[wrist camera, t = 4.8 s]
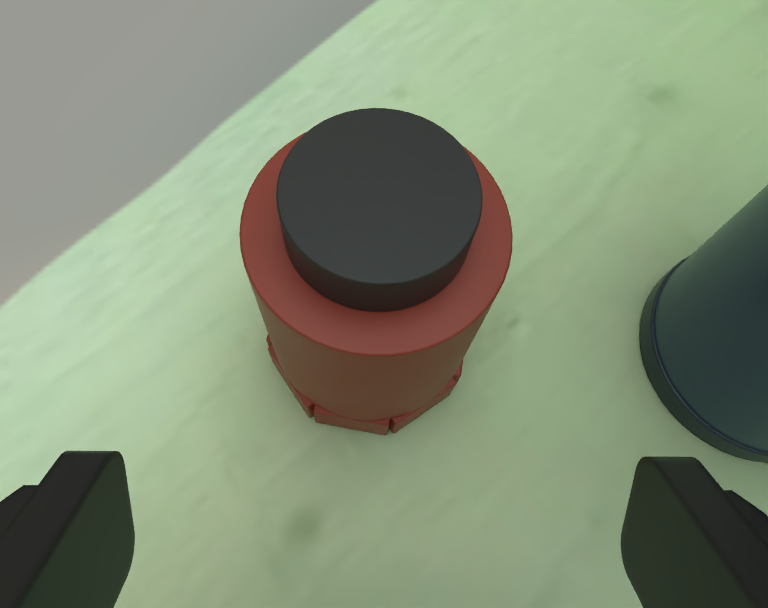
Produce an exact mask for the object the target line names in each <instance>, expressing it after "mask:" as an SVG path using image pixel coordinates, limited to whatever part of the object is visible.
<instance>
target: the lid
mask: <svg viewBox="0 0 768 608" xmlns="http://www.w3.org/2000/svg"><path fill="white" fill-rule="evenodd" d="M240 247H241V253H242V258H243V262H244V266H245V269H246V272H247V275H248V278H249V281H250V283H251V286H252V289H253V292H254V295H255V297H256V300H257V303H258V306H259V309H260V312H261V314H262V317H263V320H264V323H265V326H266V328H267V331H268V336H267V343H268V346H269V347H268V351H269V353H270V356H271V358H272V361H273V363H274V365H275V366H276V368H277V369H278V371H279V372H280V374H281V375H282V377H283V378H284V380H285V381H286V383H287V384H288V386H289V388H290V389H291V391H292V392H293V394H294V395H295V397H296V398H297V400H298V401H299V403H300V404H301V406H302V407H303V409H304V410H305V412H306V413H307V415H308V417H312V416H315V420H316V422H318V423H323V424H328V425H334V426H339V427H344V428H350V429H355V430H360V431H366V432H371V433H376V434H382V435H386V434H387V431H388V428H390V430H391V431H392V433H396V432H397V431H398V430H400V429H401V428H403V427H404V426H406V425H407V424H409V423H410V422H411V421H413V420H414V419H416V418H417V417H419V416H420V415H421V414H423V413H424V412H426V411H427V410H429V409H430V408H432V407H433V406H434V405H436V404H437V403H439V402H440V401H442V400H443V399H445V398H446V397H447V396H449V395H450V393H451V392H452V390H453V388H454V387H455V385H456V383H457V381H458V380H459V378H460V376H461V371H462V364H463V357H464V355H465V354H466V352H467V350H468V348H469V346H470V344H471V342H472V341H473V339H474V337H475V335H476V333H477V331H478V329H479V328H480V326H481V324H482V322H483V320H484V318H485V316H486V314H487V313H488V311H489V309H490V307H491V305H492V303H493V301H494V300H495V298H496V296H497V294H498V292H499V290H500V288H501V286H502V284H503V283H504V280H505V277H506V274H507V271H508V268H509V264H510V259H511V254H512V227H511V219H510V216H509V212H508V208H507V204H506V202H505V200H504V197H503V195H502V193H501V190H500V188H499V187H498V185H497V183H496V182H495V180H494V178H493V177H492V175H491V174H490V173H489V171H488V170H487V169H486V167H485V166H484V165H483V164H482V163H481V162H480V161H479V160H478V159H477V158H476V157H475V156H474V155H473V154H472V153H471V152H470V151H469V150H467V149H466V148H465V147H463V146H462V145H461V144H460V143H459V142H458V141H457V140H456V139H455V138H454V137H453V136H452V135H451V134H449V133H448V132H447V131H446V130H444V129H443V128H441V127H440V126H438V125H437V124H435V123H433V122H431V121H429V120H427V119H425V118H423V117H420V116H418V115H415V114H412V113H408V112H404V111H400V110H394V109H385V108H369V109H359V110H354V111H349V112H345V113H342V114H339V115H336V116H333V117H331V118H329V119H327V120H324V121H323V122H321V123H319V124H318V125H316V126H314V127H313V128H312V129H310V130H309V131H308V132H306V133H304V134H302V135H301V136H299V137H297V138H295V139H294V140H292V141H291V142H289V143H288V144H287V145H285V146H284V147H283V148H282V149H280V150H279V151H278V152H277V153H276V154H275V155H274V156H273V157H272V158H271V159H270V160H269V161H268V162H267V163H266V165H265V166H264V167H263V169H262V170H261V171H260V172H259V174H258V175H257V177H256V179H255V181H254V182H253V184H252V186H251V188H250V190H249V192H248V195H247V198H246V200H245V203H244V207H243V211H242V215H241V222H240Z"/></svg>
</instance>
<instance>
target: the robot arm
mask: <svg viewBox="0 0 768 608" xmlns="http://www.w3.org/2000/svg"><path fill="white" fill-rule="evenodd" d="M134 542H135V533H134V525H133V518H132V511H131V504H130V498H129V491H128V484H127V477H126V471H125V464H124V460H123V457H122V455H121V454H120V452H118V451H66V452H64V453H62V454H61V455H60V456H59V458H58V459H57V460H56V462H55V463H54V464H53V466H52V467H51V468H50V470H49V471H48V473H47V474H46V475H45V477H44V478H43V479H42V481H41V482H40V483H39V485H23V486H22V487H21V488H19V489H18V490H16V491H15V492H13V493H12V494H11V495H9V496H8V497H6V498H5V499H4V500H2V501H1V502H0V608H113V607H114V605H115V603H116V601H117V598H118V596H119V594H120V592H121V589H122V587H123V585H124V583H125V580H126V578H127V576H128V573H129V570H130V567H131V563H132V558H133V552H134ZM621 553H622V559H623V564H624V568H625V571H626V573H627V576H628V578H629V580H630V582H631V584H632V586H633V588H634V590H635V592H636V594H637V596H638V598H639V600H640V602H641V604H642V606H643V608H768V516H767V515H766V514H765V513H764V512H762V511H761V510H759V509H758V508H756V507H755V506H754V505H752V504H751V503H749V502H748V501H746V500H745V499H744V498H742V497H741V496H739V495H738V494H736V493H735V492H733V491H732V490H723V489H722V488H721V487H720V485H719V484H718V483H717V482H716V481H715V479H714V478H713V477H712V476H711V474H710V473H709V472H708V471H707V470H706V468H705V467H704V466H703V465H702V463H701V462H700V461H699V460H697V459H696V458H694V457H643V458H641V459H640V461H639V462H638V464H637V467H636V471H635V475H634V480H633V484H632V488H631V493H630V497H629V502H628V506H627V511H626V515H625V520H624V524H623V528H622V534H621Z"/></svg>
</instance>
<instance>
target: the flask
mask: <svg viewBox="0 0 768 608" xmlns="http://www.w3.org/2000/svg"><path fill="white" fill-rule="evenodd" d="M640 345H641V351H642V357H643V361H644V364H645V367H646V370H647V373H648V376H649V378H650V380H651V382H652V384H653V386H654V388H655V390H656V392H657V393H658V395H659V396H660V398H661V400H662V401H663V402H664V404H665V405H666V406H667V408H668V409H669V410H670V411H671V413H672V414H673V415H674V416H675V417H676V418H677V419H678V420H679V421H680V422H681V423H682V424H683V425H684V426H685V427H686V428H688V429H689V430H690V431H691V432H692V433H694V434H695V435H696V436H698V437H699V438H701V439H702V440H704V441H705V442H707V443H708V444H710V445H712V446H714V447H716V448H718V449H720V450H722V451H724V452H726V453H729V454H732V455H734V456H737V457H740V458H744V459H748V460H752V461H758V462H766V463H768V185H767V186H766V187H765V188H764V189H763V190H762V191H761V192H759V193H758V194H757V195H756V196H755V197H754V198H753V199H752V200H751V201H750V202H749V203H747V204H746V205H745V206H744V207H743V208H742V209H741V210H740V211H739V212H738V213H737V214H735V215H734V216H733V217H732V218H731V219H730V220H729V221H728V222H727V223H726V224H725V225H723V226H722V227H721V228H720V229H719V230H718V231H717V232H716V233H715V234H714V235H713V236H711V237H710V238H709V239H708V240H707V241H706V242H705V243H704V244H703V245H702V246H701V247H699V248H698V249H697V250H696V251H695V252H694V253H693V254H692V255H690V256H688V257H687V258H685V259H683V260H682V261H681V262H679V263H678V264H677V265H676V266H675V267H673V268H672V269H671V270H670V271H669V272H668V273H667V274H666V275H665V276H664V277H663V278H662V279H661V280H660V281H659V282H658V283H657V284H656V286H655V287H654V288H653V290H652V292H651V293H650V295H649V297H648V299H647V301H646V304H645V306H644V309H643V314H642V318H641V326H640Z"/></svg>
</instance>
